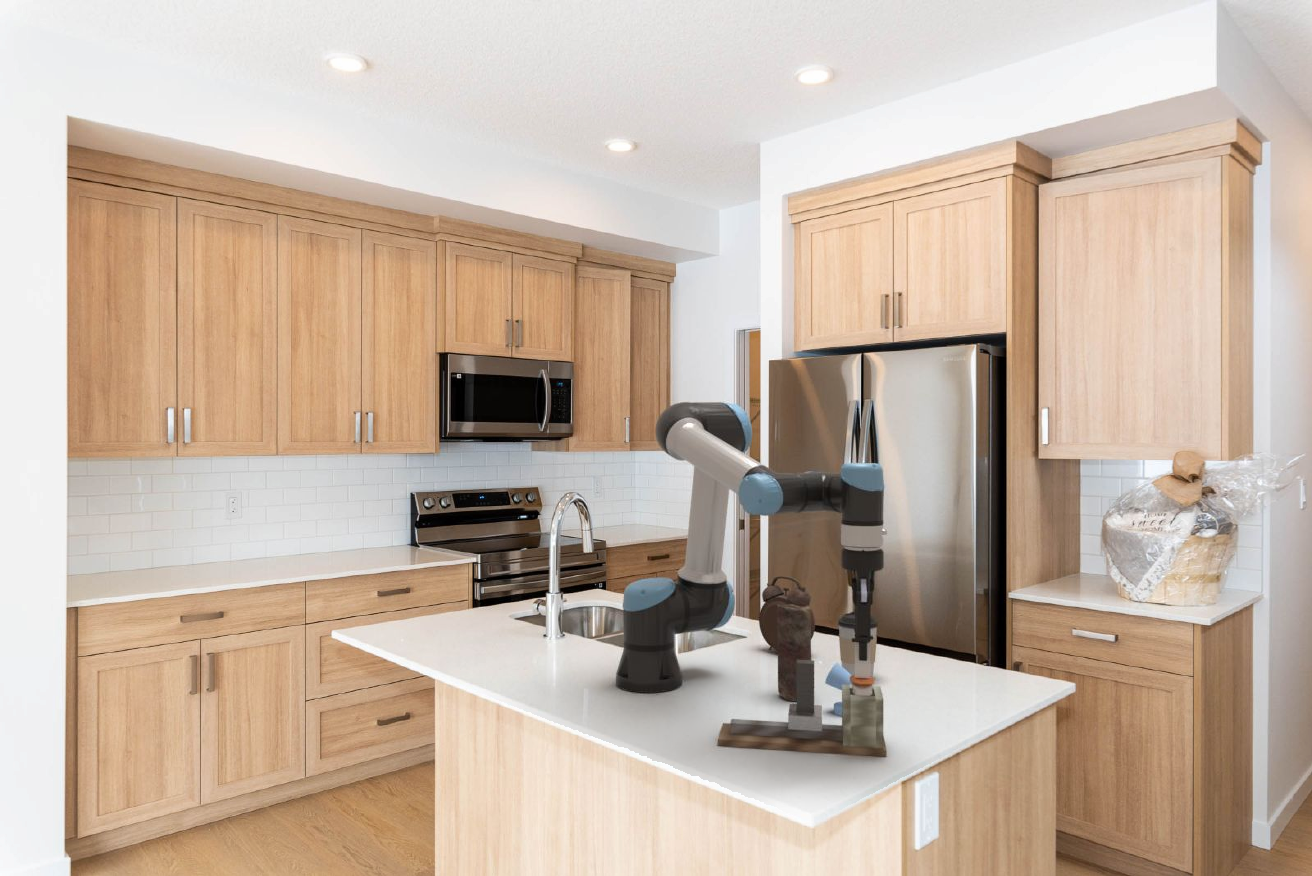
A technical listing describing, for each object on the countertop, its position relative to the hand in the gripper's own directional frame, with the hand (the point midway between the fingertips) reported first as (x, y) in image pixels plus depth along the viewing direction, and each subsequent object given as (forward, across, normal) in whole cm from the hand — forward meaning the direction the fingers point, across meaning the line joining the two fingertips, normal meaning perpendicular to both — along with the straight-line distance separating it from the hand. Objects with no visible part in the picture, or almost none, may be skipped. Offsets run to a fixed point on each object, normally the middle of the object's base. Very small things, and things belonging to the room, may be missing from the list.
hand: (862, 676), depth 160 cm
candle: (+13, +28, +13) cm, 34 cm away
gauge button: (+8, 0, 0) cm, 8 cm away
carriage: (+9, 0, +10) cm, 14 cm away
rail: (+13, 0, +11) cm, 17 cm away
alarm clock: (+13, +65, +16) cm, 68 cm away
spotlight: (+13, +19, +3) cm, 23 cm away
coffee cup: (+13, +45, -1) cm, 47 cm away
